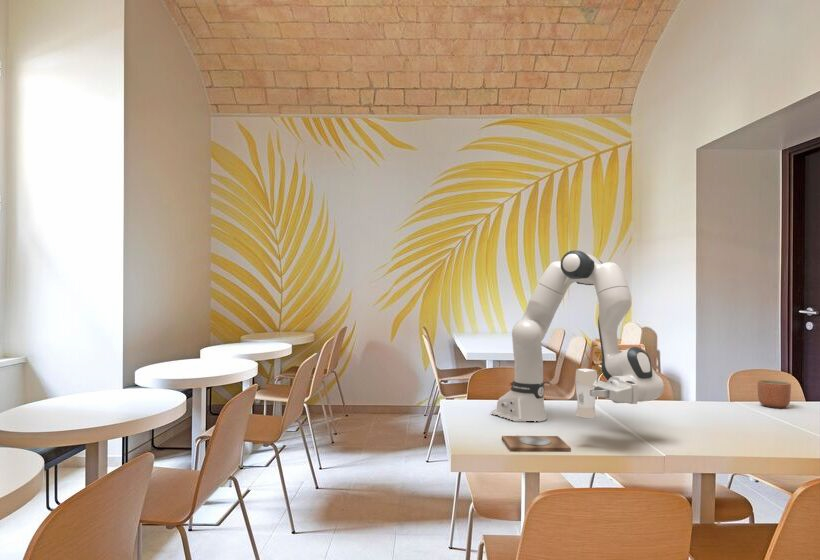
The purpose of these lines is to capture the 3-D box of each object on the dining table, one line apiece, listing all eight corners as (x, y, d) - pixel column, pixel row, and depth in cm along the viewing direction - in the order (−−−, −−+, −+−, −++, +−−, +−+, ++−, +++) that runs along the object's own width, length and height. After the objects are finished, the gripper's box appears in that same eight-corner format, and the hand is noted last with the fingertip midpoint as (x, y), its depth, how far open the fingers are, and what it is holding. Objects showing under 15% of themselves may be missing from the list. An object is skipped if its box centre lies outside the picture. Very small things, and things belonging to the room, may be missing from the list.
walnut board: (510, 451, 174) (510, 446, 174) (501, 439, 188) (501, 434, 188) (570, 451, 175) (570, 446, 175) (557, 439, 189) (557, 435, 189)
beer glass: (571, 413, 185) (571, 368, 185) (592, 413, 185) (592, 368, 186) (579, 418, 178) (580, 371, 178) (601, 418, 178) (601, 371, 179)
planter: (797, 410, 242) (797, 384, 242) (768, 409, 242) (768, 384, 242) (779, 404, 254) (779, 379, 254) (751, 403, 254) (751, 379, 254)
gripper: (599, 375, 196) (565, 376, 191) (640, 385, 176) (604, 386, 172) (599, 393, 196) (565, 395, 191) (640, 405, 176) (603, 407, 172)
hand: (583, 391), depth 181 cm, fingers closed on beer glass, 6 cm apart
